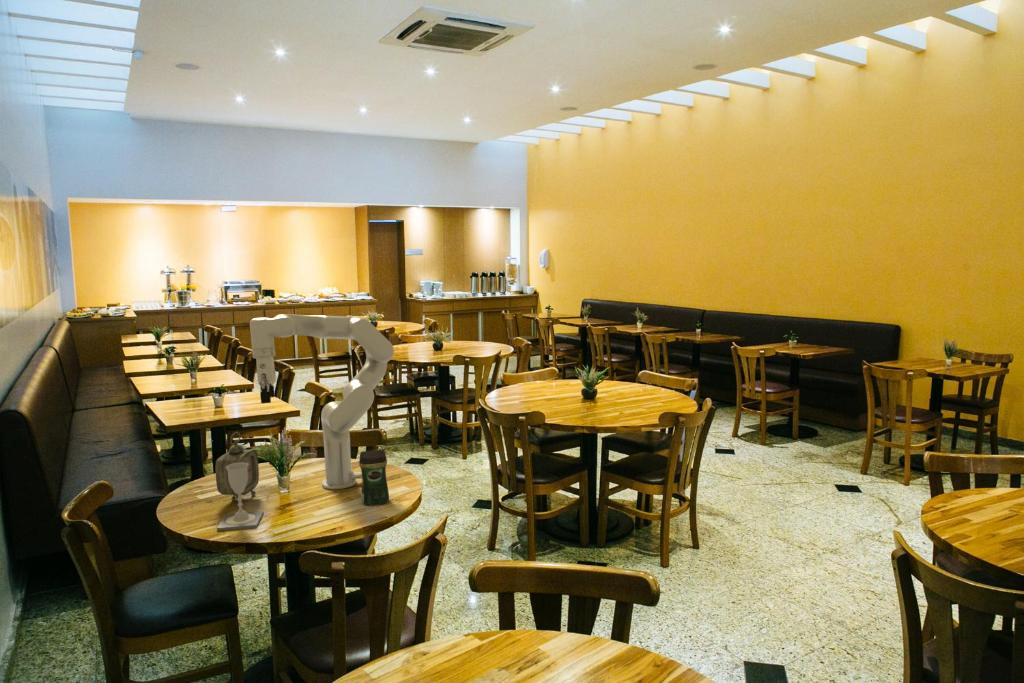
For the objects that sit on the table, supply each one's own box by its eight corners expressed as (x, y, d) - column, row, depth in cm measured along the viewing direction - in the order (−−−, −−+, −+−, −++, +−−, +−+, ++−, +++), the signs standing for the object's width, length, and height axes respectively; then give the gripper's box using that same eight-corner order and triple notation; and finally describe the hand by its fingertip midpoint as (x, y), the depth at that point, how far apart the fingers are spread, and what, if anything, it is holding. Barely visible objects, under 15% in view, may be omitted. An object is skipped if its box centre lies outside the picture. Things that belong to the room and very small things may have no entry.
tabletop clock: (241, 508, 236) (236, 438, 232) (216, 508, 236) (210, 438, 233) (260, 493, 250) (255, 427, 247) (236, 493, 251) (231, 427, 247)
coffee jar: (387, 496, 244) (385, 446, 242) (390, 504, 237) (388, 452, 234) (360, 499, 242) (357, 449, 239) (361, 507, 234) (359, 455, 232)
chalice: (234, 514, 227) (230, 462, 224) (255, 513, 227) (251, 461, 225) (226, 523, 220) (222, 469, 217) (248, 522, 220) (244, 468, 218)
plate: (263, 513, 230) (263, 510, 230) (256, 527, 219) (256, 524, 218) (226, 516, 228) (225, 513, 228) (216, 531, 217) (216, 527, 216)
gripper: (271, 355, 233) (275, 404, 235) (278, 348, 250) (282, 394, 252) (248, 357, 232) (253, 406, 234) (256, 349, 248) (260, 395, 251)
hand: (268, 399), depth 243 cm, fingers open, 9 cm apart
